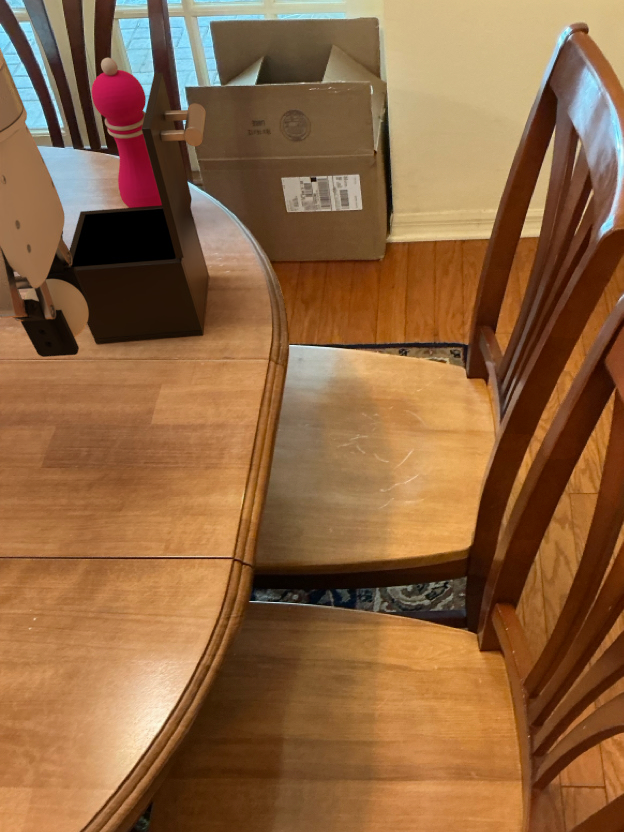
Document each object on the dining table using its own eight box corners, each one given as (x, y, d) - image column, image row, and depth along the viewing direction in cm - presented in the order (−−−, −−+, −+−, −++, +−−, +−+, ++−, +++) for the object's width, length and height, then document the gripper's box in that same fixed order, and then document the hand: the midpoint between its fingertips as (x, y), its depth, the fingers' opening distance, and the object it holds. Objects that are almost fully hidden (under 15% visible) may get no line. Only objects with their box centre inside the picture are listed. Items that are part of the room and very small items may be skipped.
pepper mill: (193, 223, 103) (148, 60, 86) (143, 242, 100) (87, 79, 84) (171, 199, 106) (124, 39, 90) (122, 217, 104) (65, 56, 88)
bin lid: (141, 128, 70) (194, 126, 70) (154, 72, 77) (202, 70, 77) (176, 258, 81) (222, 256, 81) (184, 199, 88) (227, 197, 88)
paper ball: (32, 355, 62) (6, 306, 59) (44, 317, 65) (20, 268, 61) (91, 351, 63) (69, 302, 59) (101, 313, 65) (80, 264, 61)
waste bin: (95, 344, 89) (63, 271, 81) (109, 283, 95) (80, 211, 88) (203, 335, 89) (181, 262, 81) (209, 275, 96) (189, 202, 88)
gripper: (-64, 47, 54) (42, 272, 69) (-150, 176, 44) (-4, 407, 59) (43, 41, 54) (126, 267, 69) (-17, 168, 44) (94, 400, 59)
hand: (65, 329), depth 64 cm, fingers closed on paper ball, 4 cm apart
